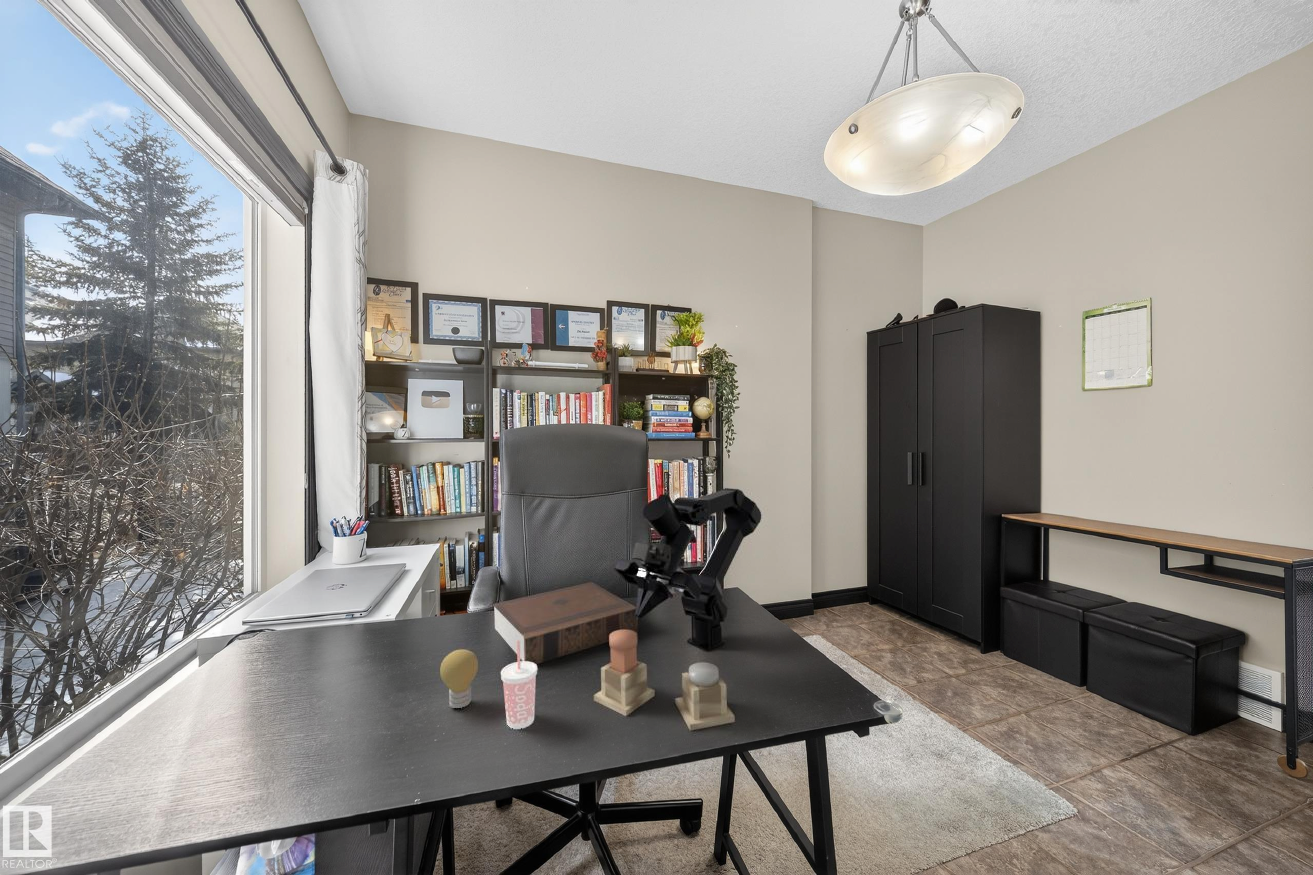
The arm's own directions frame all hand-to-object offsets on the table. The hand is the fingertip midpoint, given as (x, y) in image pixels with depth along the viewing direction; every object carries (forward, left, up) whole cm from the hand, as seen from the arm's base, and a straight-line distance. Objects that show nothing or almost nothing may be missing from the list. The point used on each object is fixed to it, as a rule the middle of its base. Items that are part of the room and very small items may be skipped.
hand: (637, 617), depth 93 cm
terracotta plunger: (+1, -4, -8) cm, 9 cm away
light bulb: (-18, -27, -14) cm, 36 cm away
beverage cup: (-6, -21, -14) cm, 26 cm away
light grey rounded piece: (+14, +4, -12) cm, 19 cm away
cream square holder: (+1, -4, -14) cm, 14 cm away
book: (-33, +3, -14) cm, 36 cm away
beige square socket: (+14, +4, -14) cm, 20 cm away
